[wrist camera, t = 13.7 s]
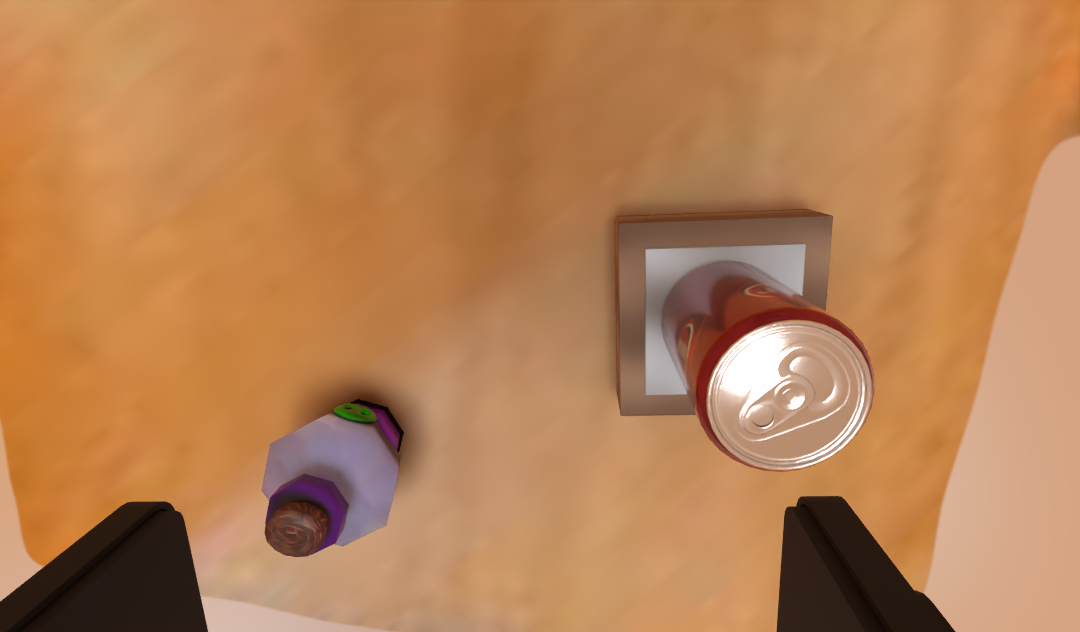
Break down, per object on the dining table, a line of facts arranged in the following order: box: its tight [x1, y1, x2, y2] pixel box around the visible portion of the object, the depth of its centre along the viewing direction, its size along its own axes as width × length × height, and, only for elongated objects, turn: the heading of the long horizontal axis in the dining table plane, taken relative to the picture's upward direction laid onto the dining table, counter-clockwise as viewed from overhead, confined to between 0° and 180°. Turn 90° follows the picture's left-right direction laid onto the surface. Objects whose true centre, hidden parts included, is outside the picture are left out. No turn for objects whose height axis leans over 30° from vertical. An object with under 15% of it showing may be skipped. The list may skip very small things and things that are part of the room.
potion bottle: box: [262, 399, 404, 557], centre depth 39 cm, size 9×9×12 cm
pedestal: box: [615, 209, 833, 416], centre depth 39 cm, size 12×12×4 cm
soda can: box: [661, 261, 874, 472], centre depth 31 cm, size 7×7×12 cm
